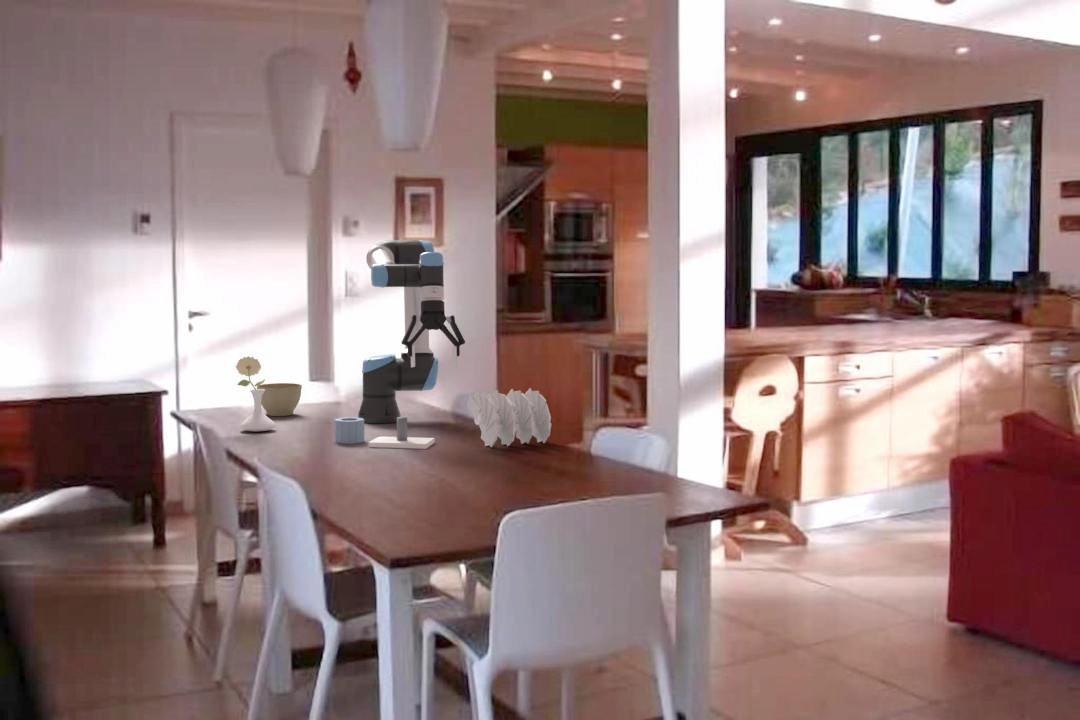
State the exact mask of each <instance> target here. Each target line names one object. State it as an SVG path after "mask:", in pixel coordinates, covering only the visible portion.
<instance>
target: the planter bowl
mask: <svg viewBox="0 0 1080 720" xmlns="http://www.w3.org/2000/svg"><path fill="white" fill-rule="evenodd" d="M302 388H303V385H302V384H300V383H295V382H294V383H291V382H287V383H286V382H276V383H265V384H264V383H262V384H260V385H258V386H256V389H264V390H265V391H264V393H263V395H262V399H261V408H263V409H264V410H265V412H266V416H271V417H285V416H291V415H293V414H294V411H295V410H296V408H297V407H298V404H299V402H300V399H301V395H302Z"/></svg>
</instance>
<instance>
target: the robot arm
mask: <svg viewBox="0 0 1080 720" xmlns="http://www.w3.org/2000/svg"><path fill="white" fill-rule="evenodd" d="M443 256H444V255H443V254H442V253H441V252H437V251H435V249H434V245H433V244H432V242H431V241H429V240H423V239H422V240H421V239H402V240H401V239H388V240H387V239H386V240H383V241H380V242H377V243H376V244H374V245H373V246H371V247H370V249H369V250H368V251H367V253H366V264H367V266H368V267H369V269H370V276H371V277H370V281H371V286H373V287H375V288H403V291H404V292H403V293H404V294H403V295H404V296H403V297H404V298H403V299H404V303H403V304H404V305H403V306H404V308H403V309H404V336H403V338H402V339H401V345H404V349H403V351H402V352H401V353H400V358H399V357H398V358H397V356H396V355H395V354H391V353H390V354H380V355H373V356H370V357H367V358H365V359H363V361H362V370H361V373H362V400H361V403H360V405H359V406H360V407H359V410H358V413H357V418H363V419H364V424H389V423H390V424H391V423H392V424H393V423H397V418H398V417H402V416H401V412H400V408H399V405H398V403H397V400H396V396H397V395H396V394H397V393H396V392H413V391H414V392H422V391H432V390H433V389H434V388H435V386H436V384H437V379H438V373H439V359H438V358H437V357H434V353H435V352H434V351H432V349H430V331H431V330H434V331H437V330H439V331H441V332H442V333H443V334H444V336H446V338H447V339H448V340H449V341H450V342H451V344H452V345H453V346H452V347H451V352H452V353H451V355H452V356H451V357H452V358H451V360H452V361H451V362H452V368H456V367H457V366H458V358H459V357H460V347H461V346H463V345H464V344H466V341H465V339H464V337H463V335H462V333H461V331H460V329H459V327H458V325H457V323H456V319H455V315H450V316H446V314H445V313H446V311H445V302H444V299H445V288H444V287H445V283H444V282H445V281H444V265H445V264H444V263H445V262H444V257H443ZM446 321H447V323H448V324H449V325H450V327H451V329H452V331H453V333H454V335H453V334H452V332H451V331H450V330H449V329H448V327H447V326H446V325H445V322H446Z"/></svg>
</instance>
